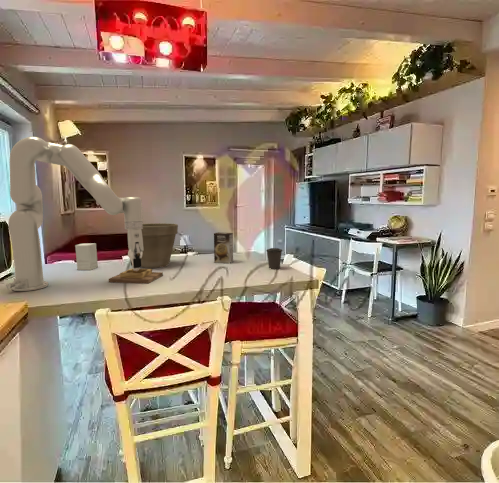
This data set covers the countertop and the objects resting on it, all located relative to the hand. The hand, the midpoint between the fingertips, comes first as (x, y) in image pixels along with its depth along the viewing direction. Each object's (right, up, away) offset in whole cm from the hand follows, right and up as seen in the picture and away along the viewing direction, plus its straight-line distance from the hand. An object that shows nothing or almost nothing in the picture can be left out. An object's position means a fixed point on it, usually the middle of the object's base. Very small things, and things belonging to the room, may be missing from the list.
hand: (136, 266), depth 158 cm
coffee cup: (+62, -3, +20) cm, 66 cm away
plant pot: (0, -2, +31) cm, 31 cm away
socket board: (0, -6, +1) cm, 6 cm away
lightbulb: (0, -3, 0) cm, 3 cm away
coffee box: (+36, -1, +38) cm, 52 cm away
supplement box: (-32, -3, +24) cm, 41 cm away
